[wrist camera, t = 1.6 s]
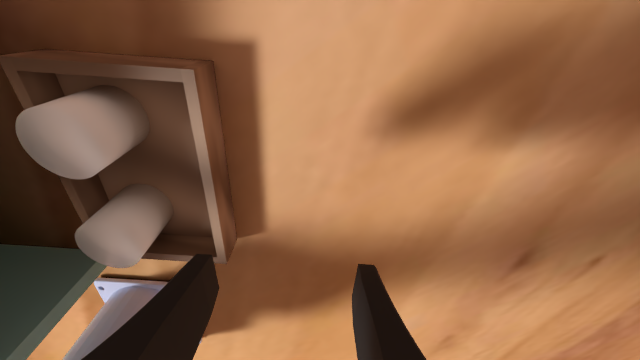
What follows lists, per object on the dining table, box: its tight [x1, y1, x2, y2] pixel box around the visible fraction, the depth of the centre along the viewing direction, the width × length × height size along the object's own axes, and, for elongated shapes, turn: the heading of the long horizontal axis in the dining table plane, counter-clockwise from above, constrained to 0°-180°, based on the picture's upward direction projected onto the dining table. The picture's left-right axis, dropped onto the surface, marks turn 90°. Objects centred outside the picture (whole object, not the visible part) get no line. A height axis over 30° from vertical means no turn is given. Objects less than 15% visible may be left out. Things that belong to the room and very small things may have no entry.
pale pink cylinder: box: [15, 85, 150, 179], centre depth 14 cm, size 4×4×4 cm
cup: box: [75, 184, 173, 268], centre depth 18 cm, size 4×4×4 cm
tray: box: [0, 49, 237, 264], centre depth 17 cm, size 13×9×2 cm
